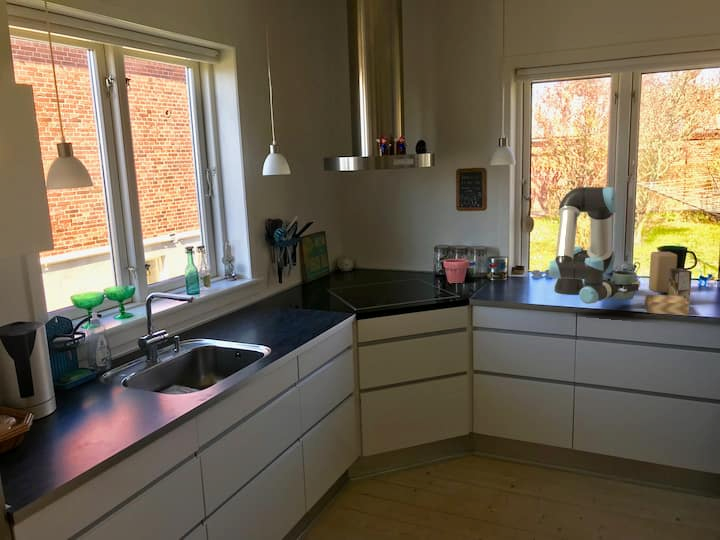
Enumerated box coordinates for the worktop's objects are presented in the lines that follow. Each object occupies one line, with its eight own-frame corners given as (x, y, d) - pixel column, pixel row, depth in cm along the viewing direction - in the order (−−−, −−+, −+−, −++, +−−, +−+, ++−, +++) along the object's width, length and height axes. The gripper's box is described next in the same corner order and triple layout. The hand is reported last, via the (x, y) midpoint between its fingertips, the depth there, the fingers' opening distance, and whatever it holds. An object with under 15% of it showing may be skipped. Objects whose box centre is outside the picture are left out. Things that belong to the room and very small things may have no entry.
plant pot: (444, 279, 354) (444, 258, 352) (468, 280, 352) (468, 258, 349) (442, 284, 341) (442, 262, 338) (467, 285, 338) (468, 262, 336)
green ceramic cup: (627, 294, 285) (629, 269, 283) (639, 299, 276) (641, 273, 273) (607, 295, 284) (608, 270, 282) (618, 300, 274) (620, 275, 272)
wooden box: (648, 312, 269) (648, 301, 268) (644, 304, 284) (645, 294, 283) (688, 315, 264) (689, 303, 263) (682, 306, 279) (683, 295, 278)
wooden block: (667, 289, 317) (670, 251, 313) (675, 293, 307) (678, 254, 304) (647, 289, 318) (650, 251, 314) (655, 293, 308) (657, 254, 305)
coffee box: (690, 304, 282) (692, 271, 279) (677, 305, 282) (679, 271, 279) (678, 300, 291) (680, 267, 288) (665, 301, 291) (668, 268, 288)
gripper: (581, 294, 276) (605, 286, 291) (628, 302, 260) (651, 293, 274) (581, 278, 275) (606, 271, 289) (629, 285, 258) (652, 277, 273)
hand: (628, 282), depth 282 cm, fingers closed on green ceramic cup, 9 cm apart
